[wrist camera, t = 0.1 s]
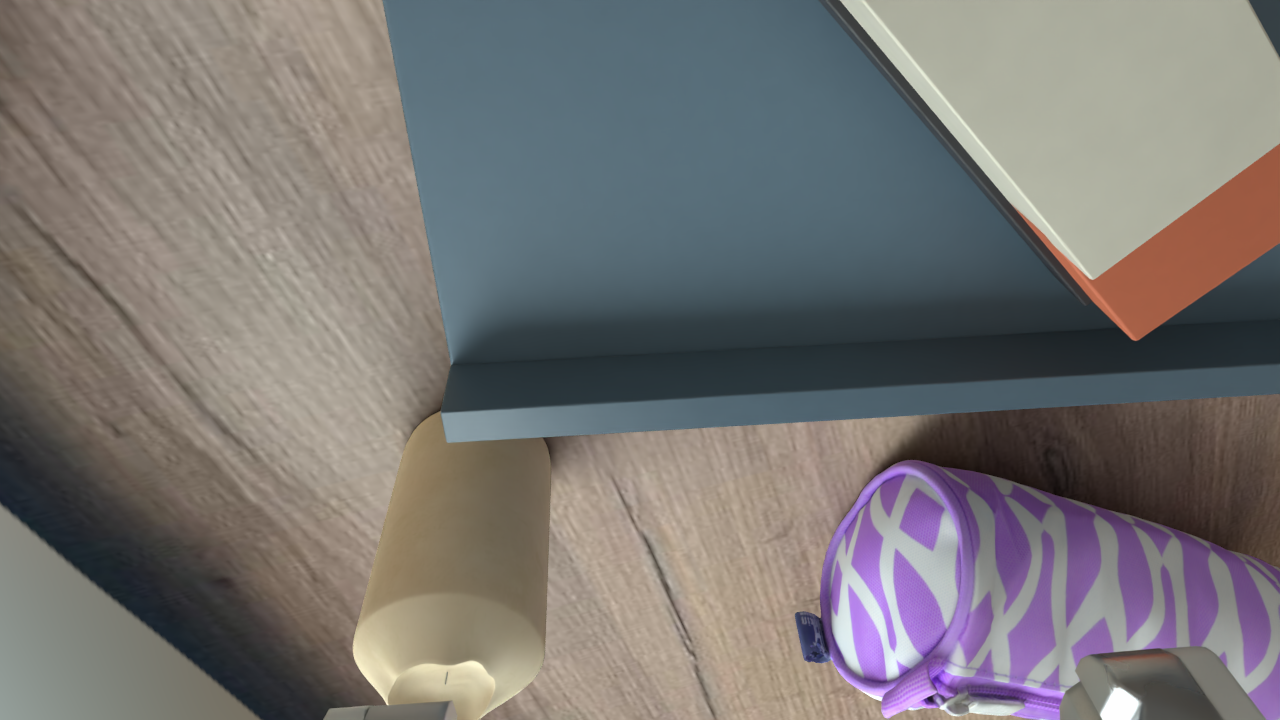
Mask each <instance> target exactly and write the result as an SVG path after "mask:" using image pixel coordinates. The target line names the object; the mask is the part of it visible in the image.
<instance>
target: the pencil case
mask: <svg viewBox="0 0 1280 720" xmlns="http://www.w3.org/2000/svg"><path fill="white" fill-rule="evenodd" d="M820 606H821V618H818V617H817V616H816V615H815V614H812V613H809V612H797V613H796V614H795V619H796V624H797V629H798V634H799V638H800V643H801V648H802V653H803V657H804V660H805V661H807V662H811V661H812V662H813V661H814V662H815V663H824V662H828V661H830V660H833V663H834V665H835V666H836V668H837V669H838V671H839V673H840V674H841V675H842V676H843V677H844V678H845V679H846V680H847V681H848V682H849V683H851V684H852V685H853V686H855V687H856V688H858V689H860V690H861V691H863V692H864V693H866V694H867V695H869V696H871V697H873V698H875V699H877V700H880V701H882V713H883V715H884V717H885V718H888V719H889V718H890V717H891V716H893V715H895V714H897V713H899V712H902V711H904V710H907V709H909V710H917V709H921V708H937V707H939V708H940V709H944V710H945V711H946V712H947V713H948V714H950V715H952V716H962V715H965V714H968V713H969V712H971V713H978V714H988V715H998V716H1002V715H1014V716H1018V717H1023V718H1029V719H1038V720H1060V711H1059V707H1060V704H1061V701H1062V699H1063V696H1064V693H1065V691H1067V690H1068V689H1069V688H1071V687H1072V686H1074V685H1075V684H1077V683H1078V682H1079V681H1080V679H1079V677H1078V676H1077V674H1076V672H1075V669H1076V667H1077V665H1078V663H1079V661H1080V659H1081V658H1083V657H1085V656H1088V655H1090V654H1100V653H1111V652H1122V651H1133V650H1144V649H1155V648H1161V649H1165V648H1177V647H1189V646H1200V647H1207V648H1208V649H1209V650H1211V651H1212V652H1214V653H1215V654H1216V655H1217V656H1218V657H1219V658H1220V659H1221V661H1222V662H1223V663H1224V664H1225V666H1226V667H1227V668H1228V670H1229V671H1230V672H1231V674H1232V675H1233V676H1234V678H1235V679H1236V680H1237V682H1238V683H1239V684H1240V685H1241V687H1242V688H1243V689H1244V691H1245V692H1246V693H1247V695H1248V696H1249V697H1250V699H1251V700H1252V701H1253V703H1254V704H1255V705H1256V706H1257V708H1258V709H1259V710H1260V712H1261V713H1262V714H1263V716H1264V717H1265V718H1266V720H1280V568H1278V567H1275V566H1273V565H1270V564H1268V563H1266V562H1264V561H1262V560H1260V559H1258V558H1255V557H1252V556H1250V555H1247V554H1243V553H1238V552H1234V551H1230V550H1226V549H1224V548H1222V547H1220V546H1218V545H1216V544H1214V543H1211V542H1209V541H1206V540H1204V539H1201V538H1199V537H1196V536H1193V535H1191V534H1187V533H1185V532H1182V531H1179V530H1176V529H1173V528H1170V527H1167V526H1164V525H1161V524H1158V523H1155V522H1151V521H1147V520H1143V519H1141V518H1138V517H1135V516H1131V515H1128V514H1123V513H1119V512H1115V511H1110V510H1107V509H1104V508H1100V507H1097V506H1093V505H1090V504H1086V503H1083V502H1079V501H1076V500H1072V499H1068V498H1064V497H1060V496H1057V495H1053V494H1050V493H1047V492H1044V491H1041V490H1038V489H1035V488H1032V487H1029V486H1026V485H1021V484H1018V483H1016V482H1013V481H1010V480H1007V479H1003V478H999V477H995V476H991V475H987V474H983V473H978V472H974V471H968V470H962V469H955V468H947V467H939V466H937V465H934V464H931V463H927V462H923V461H919V460H906V461H902V462H898V463H896V464H894V465H892V466H891V467H889V468H887V469H886V470H885V471H883V472H882V473H880V474H878V475H876V476H875V477H874V478H873V479H872V480H871V481H870V482H869V483H868V484H867V485H866V486H865V487H864V489H863V490H862V492H861V494H860V496H859V498H858V499H857V500H856V502H855V504H854V506H853V507H852V508H851V510H850V511H849V512H848V514H847V515H846V516H845V518H844V519H843V520H842V522H841V523H840V525H839V526H838V528H837V529H836V531H835V533H834V535H833V537H832V540H831V542H830V544H829V547H828V550H827V552H826V556H825V560H824V564H823V570H822V578H821V592H820Z"/></svg>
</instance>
